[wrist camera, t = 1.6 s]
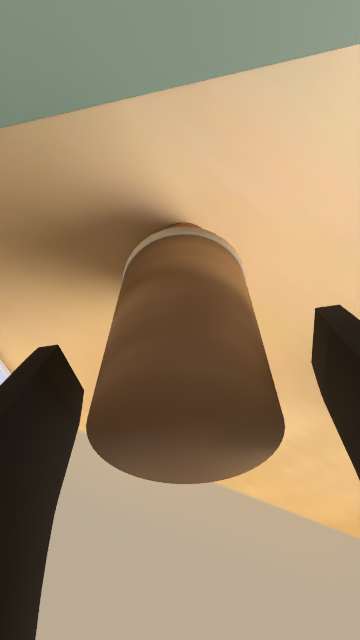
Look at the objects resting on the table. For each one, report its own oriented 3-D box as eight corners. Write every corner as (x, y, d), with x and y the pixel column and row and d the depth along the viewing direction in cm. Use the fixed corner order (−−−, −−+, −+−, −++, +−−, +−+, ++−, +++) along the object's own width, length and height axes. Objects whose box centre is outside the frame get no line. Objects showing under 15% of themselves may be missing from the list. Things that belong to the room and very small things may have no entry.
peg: (146, 301, 16) (119, 491, 9) (118, 211, 14) (49, 384, 6) (239, 286, 16) (286, 476, 9) (230, 189, 13) (287, 352, 6)
